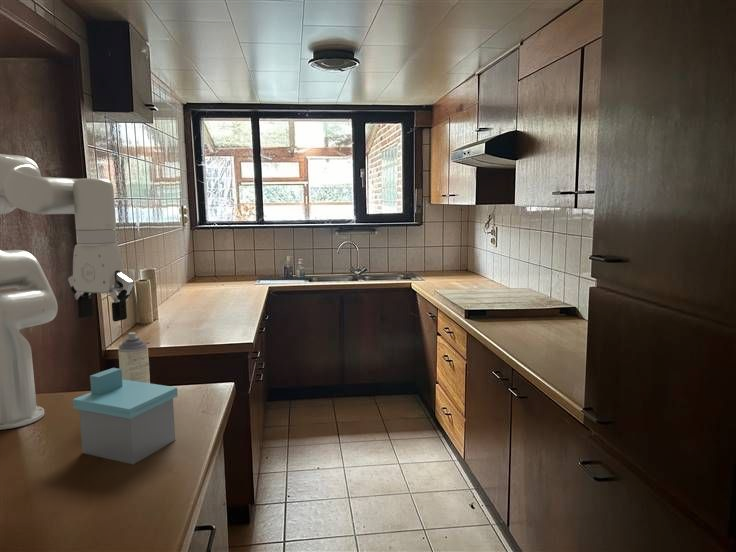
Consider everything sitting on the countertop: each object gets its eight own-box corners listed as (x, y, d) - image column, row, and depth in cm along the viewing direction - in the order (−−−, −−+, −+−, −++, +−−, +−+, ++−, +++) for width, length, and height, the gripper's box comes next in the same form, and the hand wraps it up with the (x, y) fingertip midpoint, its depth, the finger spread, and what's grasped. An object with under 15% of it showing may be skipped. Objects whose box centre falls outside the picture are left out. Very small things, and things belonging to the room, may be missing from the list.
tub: (82, 453, 112) (78, 403, 110) (127, 430, 123) (124, 385, 121) (133, 464, 106) (129, 412, 105) (175, 440, 118) (172, 392, 116)
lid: (73, 408, 110) (71, 380, 109) (124, 387, 122) (122, 362, 121) (130, 418, 104) (128, 389, 103) (177, 396, 117) (176, 369, 116)
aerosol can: (145, 402, 140) (141, 328, 138) (155, 409, 136) (151, 333, 133) (118, 409, 136) (113, 333, 133) (128, 416, 131) (122, 337, 128)
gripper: (51, 238, 110) (57, 318, 113) (113, 240, 104) (119, 325, 106) (82, 236, 117) (87, 312, 119) (142, 238, 111) (147, 318, 113)
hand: (102, 318), depth 113 cm, fingers open, 9 cm apart
